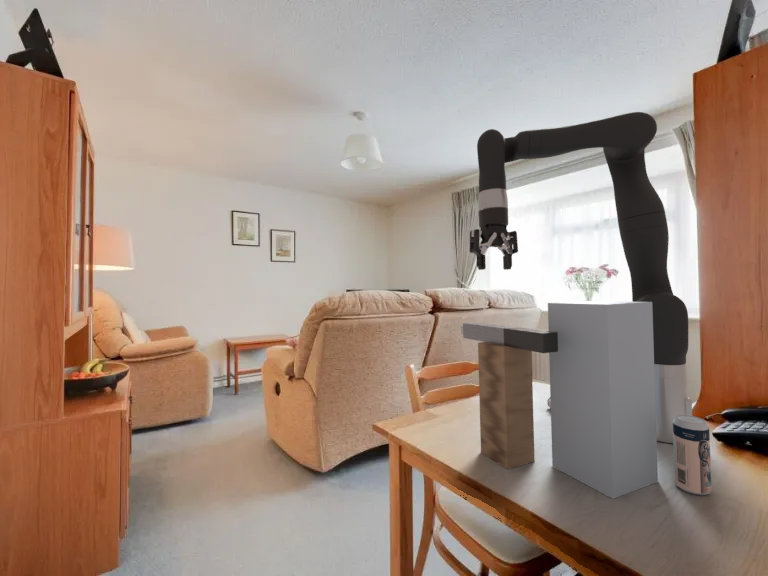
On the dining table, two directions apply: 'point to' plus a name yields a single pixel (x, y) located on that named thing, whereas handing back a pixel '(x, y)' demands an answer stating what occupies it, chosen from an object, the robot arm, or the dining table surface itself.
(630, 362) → the tall stand
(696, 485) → the cream and blue canister
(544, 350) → the dark grey long bar
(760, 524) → the dining table surface
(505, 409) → the walnut block
